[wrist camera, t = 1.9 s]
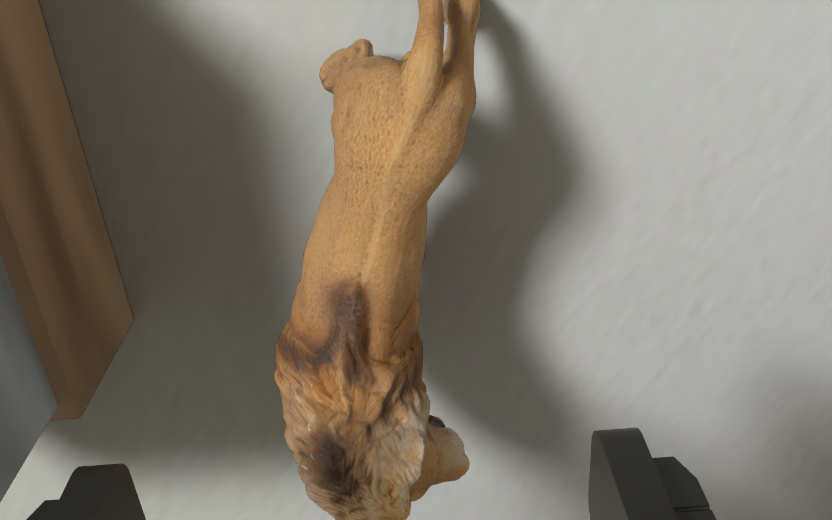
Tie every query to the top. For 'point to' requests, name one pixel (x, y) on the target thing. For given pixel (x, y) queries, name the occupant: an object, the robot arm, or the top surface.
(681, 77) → the top surface
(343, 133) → the lion figurine
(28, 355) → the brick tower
